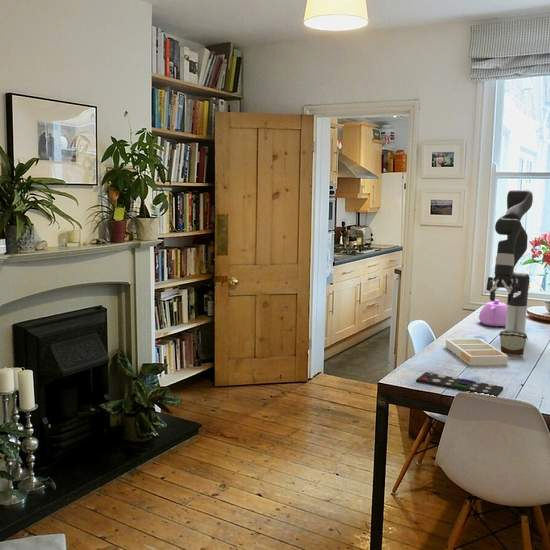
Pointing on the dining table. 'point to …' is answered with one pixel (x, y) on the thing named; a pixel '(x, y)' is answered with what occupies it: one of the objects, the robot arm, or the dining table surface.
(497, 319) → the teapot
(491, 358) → the cream compartment tray
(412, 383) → the dining table surface
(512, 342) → the food container
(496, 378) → the dining table surface
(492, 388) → the remote control
